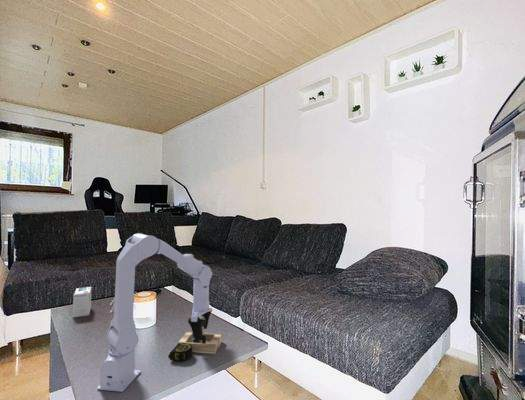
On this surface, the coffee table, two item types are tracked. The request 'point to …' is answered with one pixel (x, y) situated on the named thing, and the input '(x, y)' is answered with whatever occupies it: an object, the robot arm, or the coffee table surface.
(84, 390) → the coffee table surface
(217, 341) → the pocket block
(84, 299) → the light bulb box
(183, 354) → the tape measure
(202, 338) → the push button
